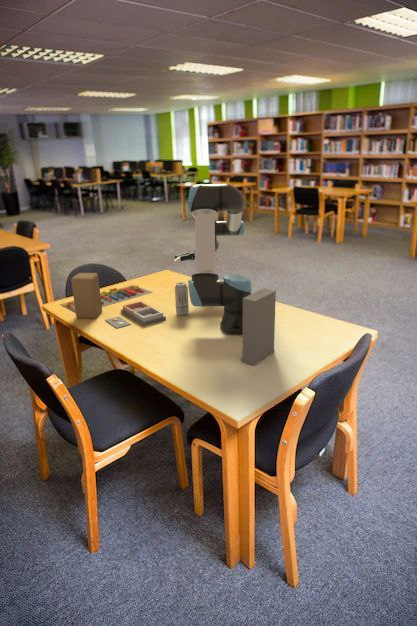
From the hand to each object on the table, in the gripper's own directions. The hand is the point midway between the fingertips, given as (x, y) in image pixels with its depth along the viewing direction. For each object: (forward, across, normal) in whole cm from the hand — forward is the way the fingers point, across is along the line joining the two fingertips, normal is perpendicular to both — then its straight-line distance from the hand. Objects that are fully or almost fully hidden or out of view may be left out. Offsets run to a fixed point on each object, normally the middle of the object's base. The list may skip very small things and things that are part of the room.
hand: (187, 264), depth 210 cm
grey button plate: (+29, +24, -21) cm, 43 cm away
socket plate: (+18, +17, -21) cm, 32 cm away
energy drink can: (+10, 0, -22) cm, 24 cm away
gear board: (0, +47, -24) cm, 53 cm away
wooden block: (+25, +42, -22) cm, 53 cm away
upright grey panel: (+43, -46, -19) cm, 65 cm away
